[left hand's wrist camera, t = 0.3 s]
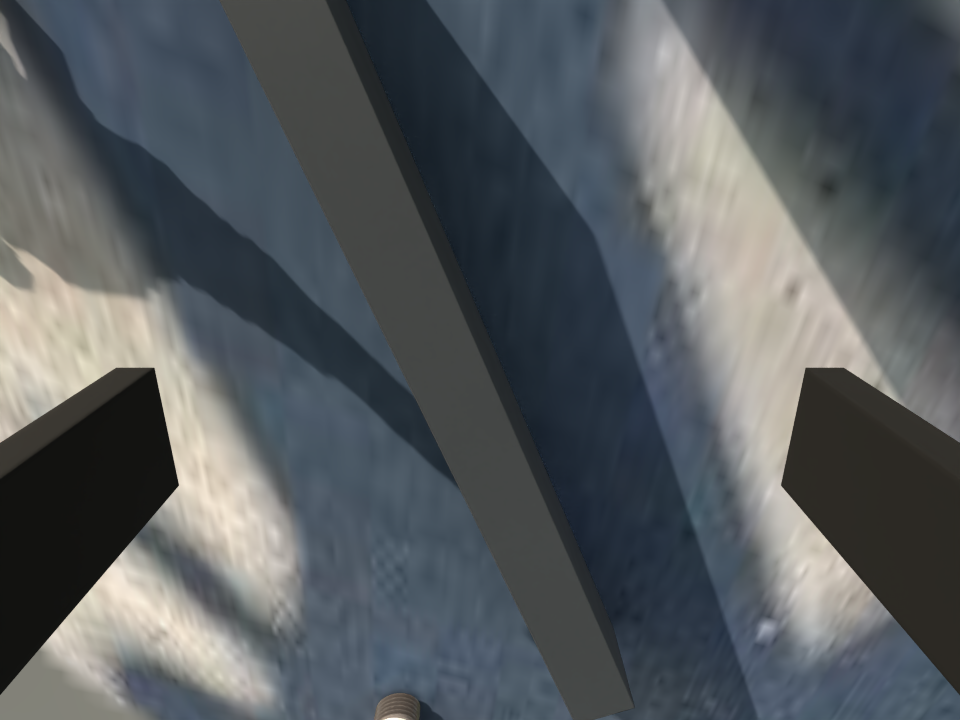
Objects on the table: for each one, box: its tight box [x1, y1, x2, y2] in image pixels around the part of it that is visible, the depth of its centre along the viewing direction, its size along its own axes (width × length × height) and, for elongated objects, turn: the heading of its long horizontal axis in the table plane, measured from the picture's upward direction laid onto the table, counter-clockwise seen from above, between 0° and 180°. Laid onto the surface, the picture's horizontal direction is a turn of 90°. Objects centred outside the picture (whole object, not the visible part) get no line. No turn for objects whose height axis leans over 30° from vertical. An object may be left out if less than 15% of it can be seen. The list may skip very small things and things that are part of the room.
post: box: [220, 0, 635, 720], centre depth 36 cm, size 61×4×7 cm, turn 22°
